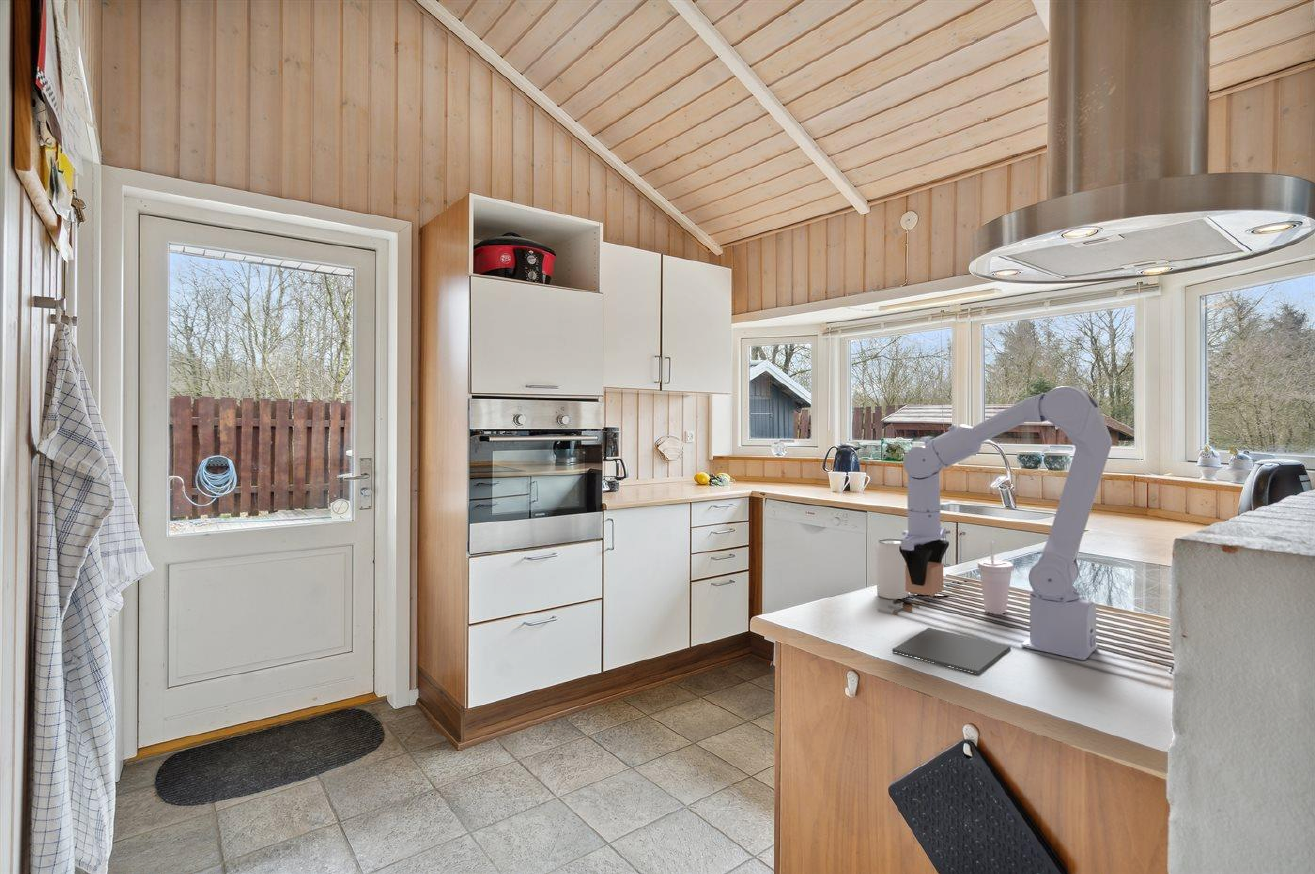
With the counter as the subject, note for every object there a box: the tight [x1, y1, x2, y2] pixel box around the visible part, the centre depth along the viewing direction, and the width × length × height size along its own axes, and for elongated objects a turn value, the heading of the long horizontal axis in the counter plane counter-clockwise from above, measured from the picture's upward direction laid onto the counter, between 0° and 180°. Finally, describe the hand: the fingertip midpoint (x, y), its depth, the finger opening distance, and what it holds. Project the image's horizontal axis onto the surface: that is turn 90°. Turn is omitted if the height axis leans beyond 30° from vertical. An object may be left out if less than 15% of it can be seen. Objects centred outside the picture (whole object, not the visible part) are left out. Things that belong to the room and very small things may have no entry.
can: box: [876, 538, 910, 601], centre depth 145 cm, size 6×6×12 cm
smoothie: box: [977, 540, 1015, 615], centre depth 133 cm, size 6×6×14 cm
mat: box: [891, 627, 1011, 675], centre depth 114 cm, size 14×14×1 cm
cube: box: [905, 562, 944, 597], centre depth 127 cm, size 5×5×5 cm
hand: (924, 581), depth 127 cm, fingers closed on cube, 5 cm apart
